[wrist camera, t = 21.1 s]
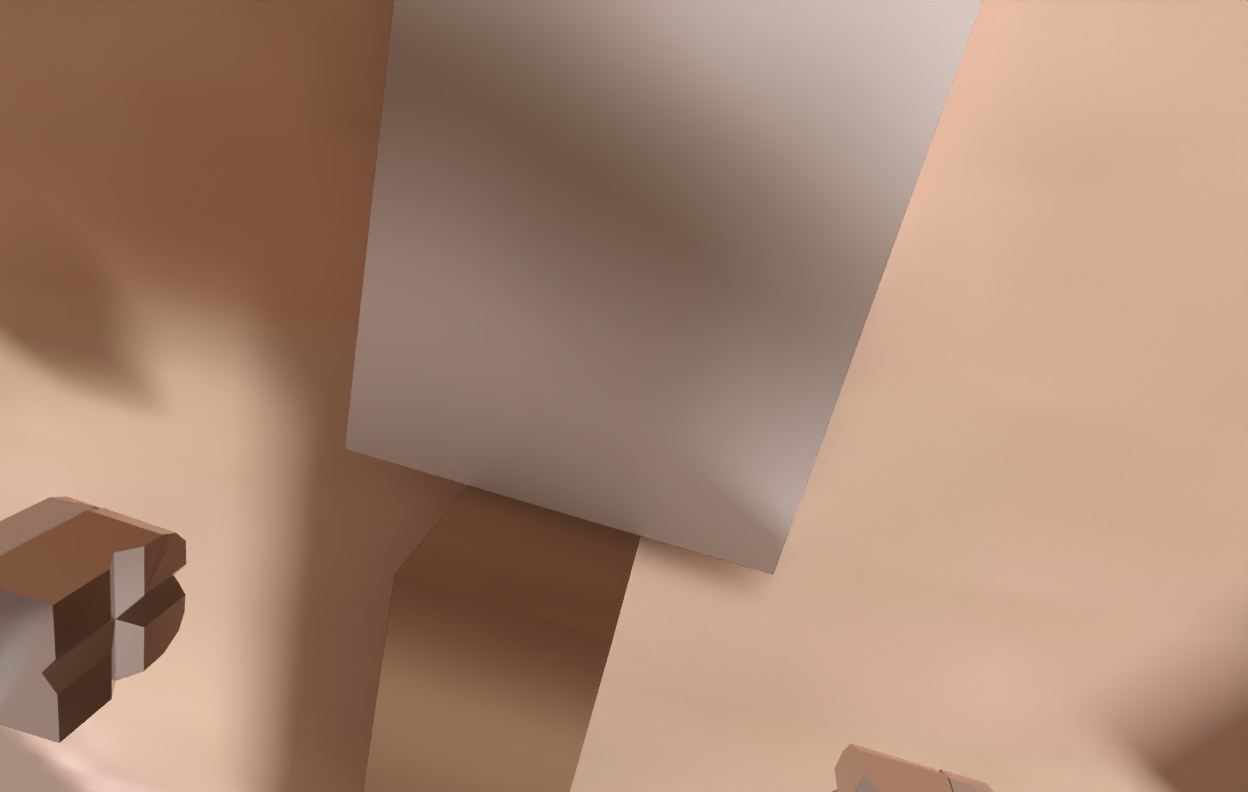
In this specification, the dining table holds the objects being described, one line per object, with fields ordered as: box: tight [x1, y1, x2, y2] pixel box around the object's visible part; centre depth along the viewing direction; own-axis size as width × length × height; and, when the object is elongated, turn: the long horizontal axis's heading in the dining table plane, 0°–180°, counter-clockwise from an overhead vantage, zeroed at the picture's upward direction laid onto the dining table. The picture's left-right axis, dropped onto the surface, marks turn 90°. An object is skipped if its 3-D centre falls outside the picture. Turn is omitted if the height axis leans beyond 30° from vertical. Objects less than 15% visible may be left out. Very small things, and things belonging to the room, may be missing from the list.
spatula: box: [345, 0, 983, 792], centre depth 9 cm, size 18×6×3 cm, turn 166°
